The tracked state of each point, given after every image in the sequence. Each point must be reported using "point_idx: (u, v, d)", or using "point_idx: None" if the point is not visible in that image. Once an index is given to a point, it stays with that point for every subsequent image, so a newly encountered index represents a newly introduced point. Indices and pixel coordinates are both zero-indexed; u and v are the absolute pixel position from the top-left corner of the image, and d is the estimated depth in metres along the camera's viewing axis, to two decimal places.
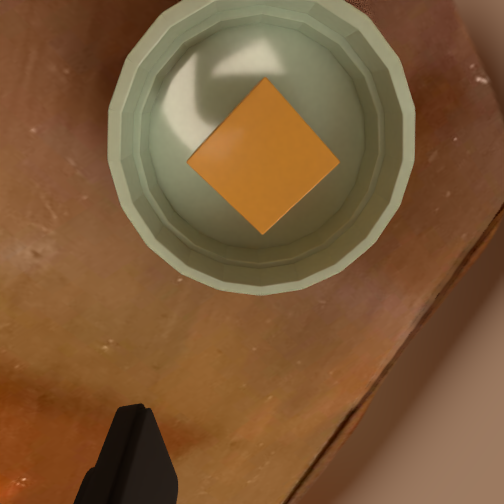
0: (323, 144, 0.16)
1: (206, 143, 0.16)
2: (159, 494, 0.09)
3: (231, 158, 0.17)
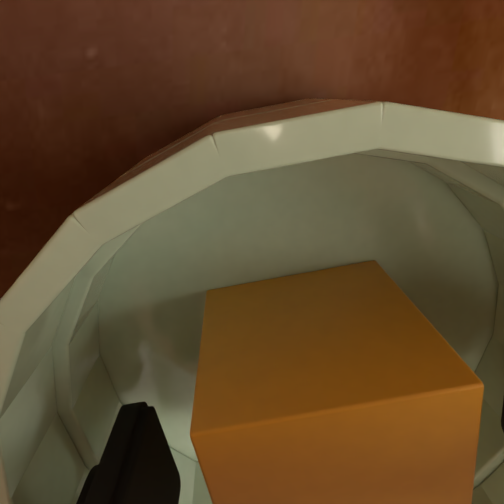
0: (415, 398, 0.06)
1: None
2: (162, 491, 0.09)
3: None
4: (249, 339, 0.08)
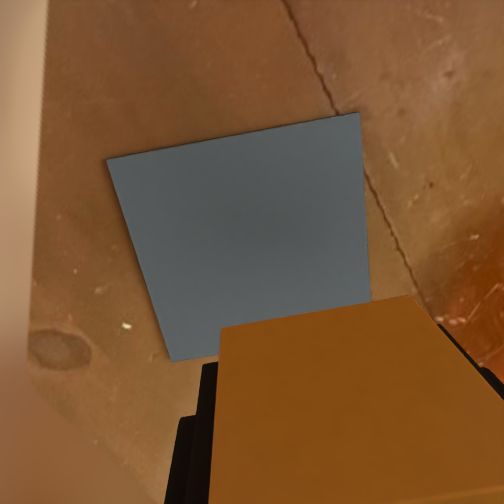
0: (484, 494, 0.05)
1: None
2: None
3: None
4: (273, 396, 0.07)
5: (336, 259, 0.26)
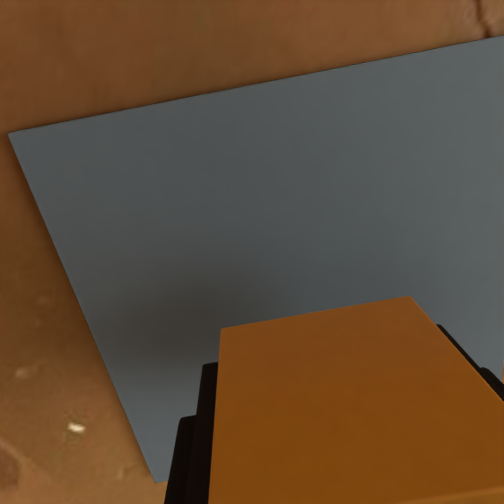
0: (484, 495, 0.05)
1: None
2: None
3: None
4: (273, 397, 0.07)
5: (452, 318, 0.14)
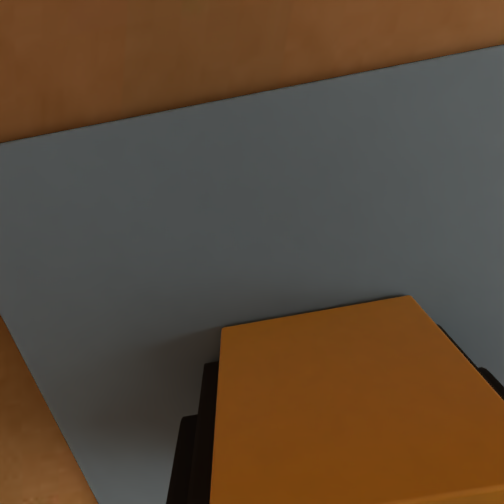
0: (484, 493, 0.05)
1: None
2: None
3: None
4: (274, 396, 0.07)
5: None
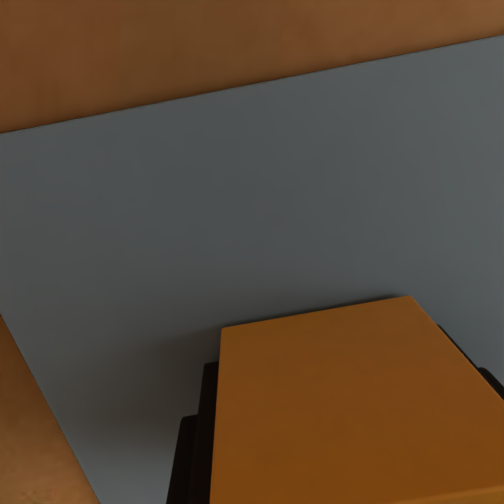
0: (485, 494, 0.05)
1: None
2: None
3: None
4: (274, 396, 0.07)
5: None
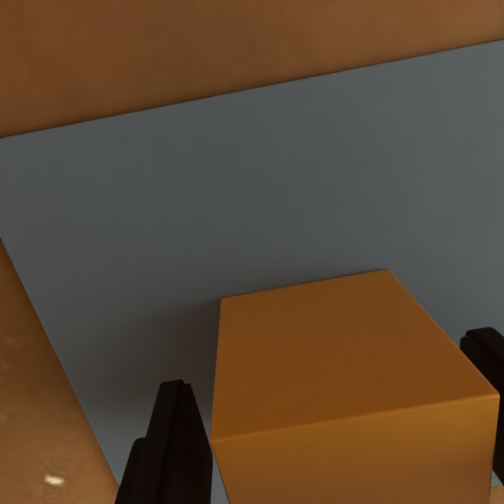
0: (431, 408, 0.06)
1: None
2: (200, 463, 0.09)
3: None
4: (266, 347, 0.08)
5: None
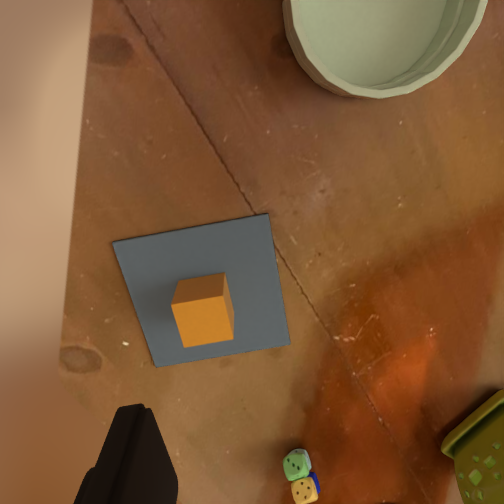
0: (210, 298, 0.34)
1: (181, 337, 0.36)
2: (159, 494, 0.09)
3: (193, 332, 0.36)
4: (186, 290, 0.36)
5: (262, 300, 0.40)
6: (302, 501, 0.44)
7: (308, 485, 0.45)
